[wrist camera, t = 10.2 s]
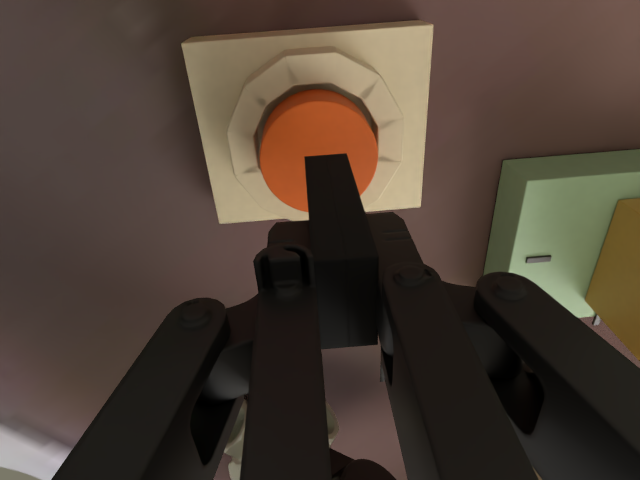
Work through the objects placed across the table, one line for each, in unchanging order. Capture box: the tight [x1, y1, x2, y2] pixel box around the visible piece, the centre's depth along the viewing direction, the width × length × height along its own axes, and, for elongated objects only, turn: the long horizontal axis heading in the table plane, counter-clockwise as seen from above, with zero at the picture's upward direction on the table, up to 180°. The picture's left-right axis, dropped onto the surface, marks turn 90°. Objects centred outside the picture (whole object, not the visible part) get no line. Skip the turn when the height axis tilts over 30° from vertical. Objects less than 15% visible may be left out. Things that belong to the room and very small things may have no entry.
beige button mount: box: [181, 20, 433, 224], centre depth 21 cm, size 11×9×4 cm
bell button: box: [259, 89, 378, 212], centre depth 19 cm, size 5×5×2 cm
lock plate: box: [483, 149, 640, 325], centre depth 26 cm, size 13×11×3 cm
